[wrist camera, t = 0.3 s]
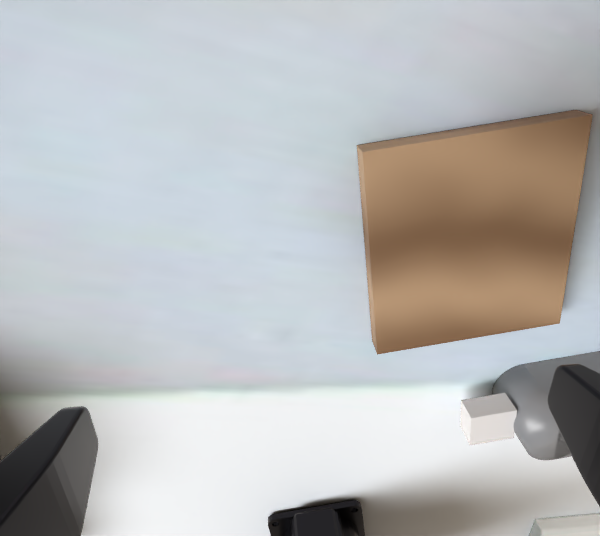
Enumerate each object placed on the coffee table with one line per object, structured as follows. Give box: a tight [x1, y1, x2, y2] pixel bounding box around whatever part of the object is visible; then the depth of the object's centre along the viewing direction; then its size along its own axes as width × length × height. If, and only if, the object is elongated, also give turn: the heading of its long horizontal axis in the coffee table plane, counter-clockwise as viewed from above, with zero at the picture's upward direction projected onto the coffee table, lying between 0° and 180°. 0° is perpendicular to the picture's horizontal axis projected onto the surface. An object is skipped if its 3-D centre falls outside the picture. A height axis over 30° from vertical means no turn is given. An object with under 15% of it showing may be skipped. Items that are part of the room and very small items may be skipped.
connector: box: [460, 351, 600, 460], centre depth 27 cm, size 4×12×4 cm, turn 98°
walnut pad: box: [357, 110, 593, 354], centre depth 23 cm, size 11×10×1 cm
